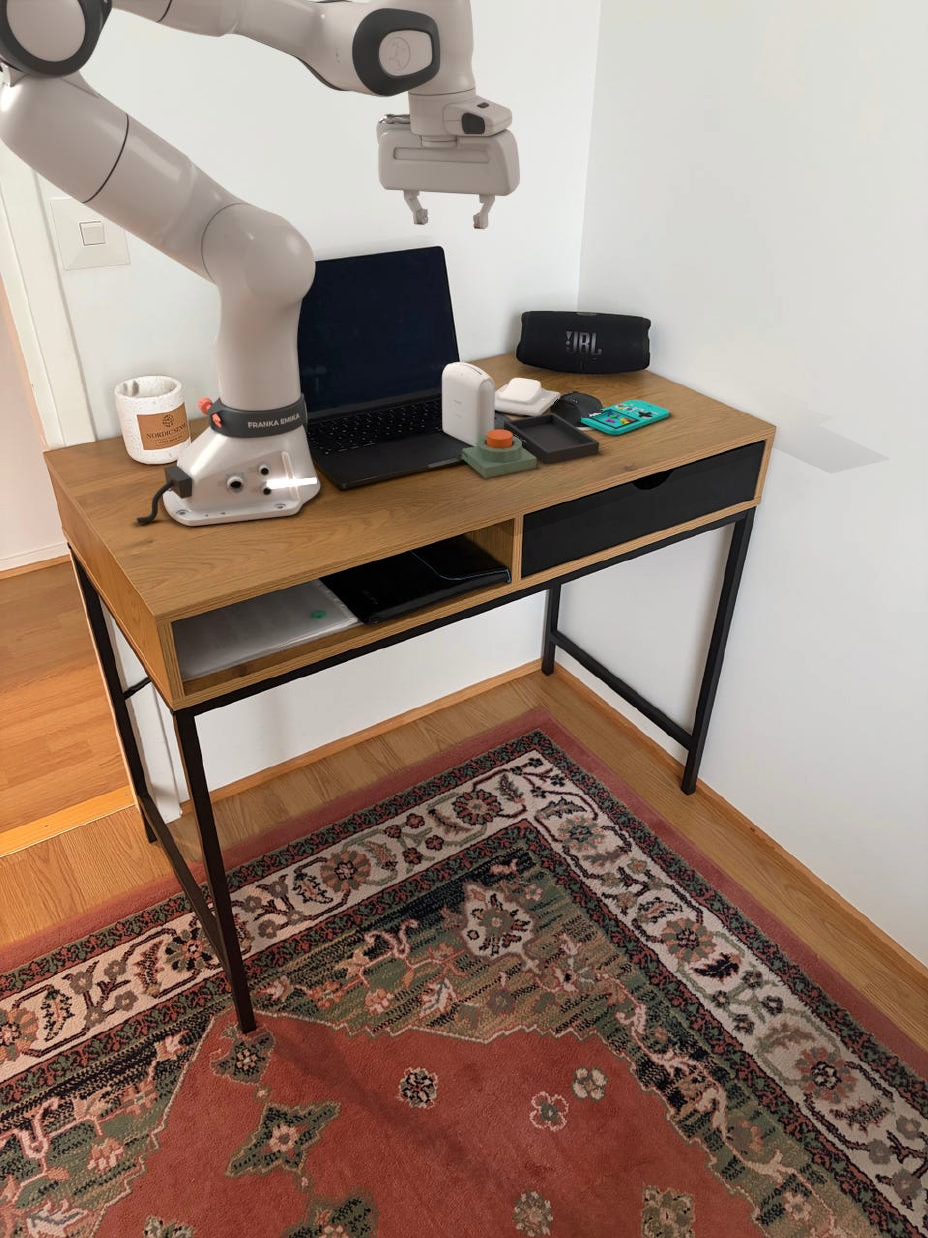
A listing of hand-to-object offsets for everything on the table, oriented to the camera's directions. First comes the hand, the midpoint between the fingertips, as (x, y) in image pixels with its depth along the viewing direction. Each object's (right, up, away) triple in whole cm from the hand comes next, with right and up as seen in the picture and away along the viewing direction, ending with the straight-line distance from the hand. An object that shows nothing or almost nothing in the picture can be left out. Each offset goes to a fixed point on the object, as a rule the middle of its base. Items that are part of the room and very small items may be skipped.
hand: (450, 225), depth 127 cm
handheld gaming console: (+30, -20, +32) cm, 48 cm away
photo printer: (+2, -25, +24) cm, 35 cm away
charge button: (+7, -28, +14) cm, 32 cm away
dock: (+16, -26, +23) cm, 38 cm away
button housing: (+7, -31, +16) cm, 35 cm away
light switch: (+12, -16, +37) cm, 43 cm away
